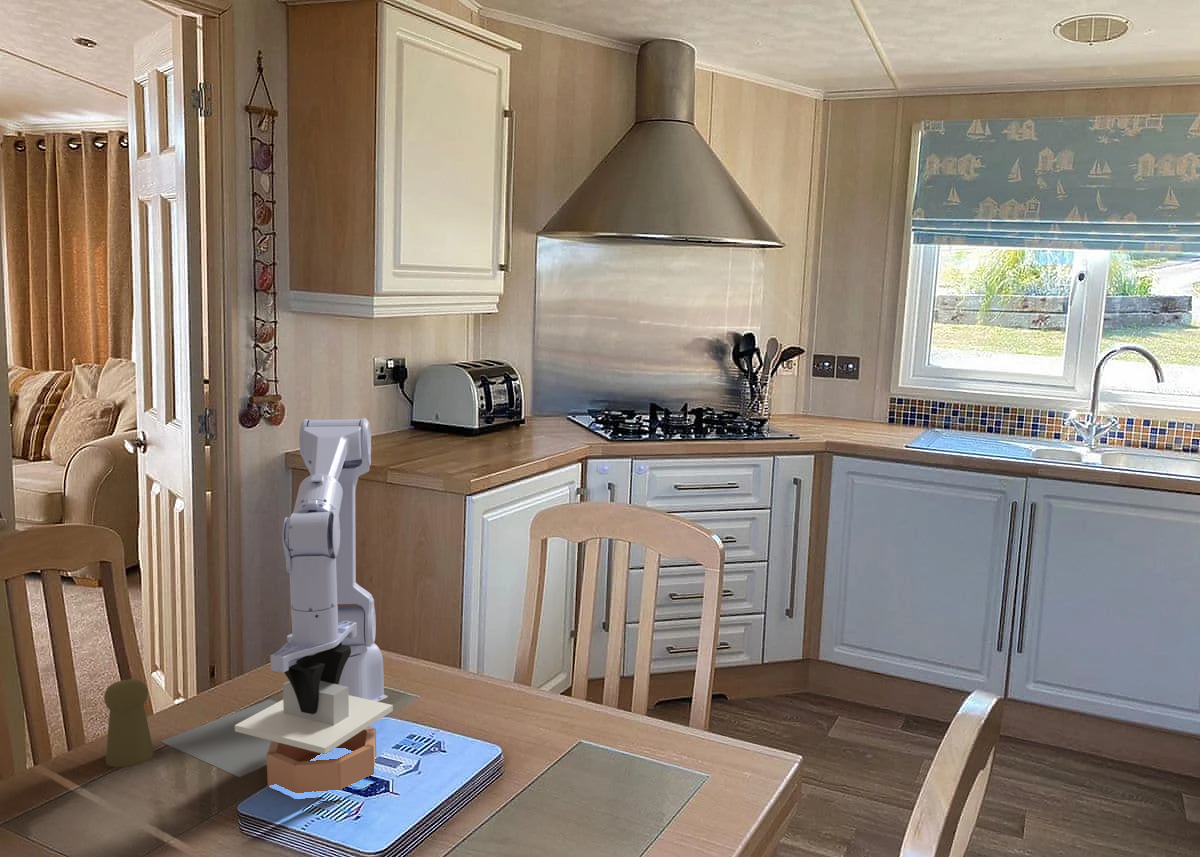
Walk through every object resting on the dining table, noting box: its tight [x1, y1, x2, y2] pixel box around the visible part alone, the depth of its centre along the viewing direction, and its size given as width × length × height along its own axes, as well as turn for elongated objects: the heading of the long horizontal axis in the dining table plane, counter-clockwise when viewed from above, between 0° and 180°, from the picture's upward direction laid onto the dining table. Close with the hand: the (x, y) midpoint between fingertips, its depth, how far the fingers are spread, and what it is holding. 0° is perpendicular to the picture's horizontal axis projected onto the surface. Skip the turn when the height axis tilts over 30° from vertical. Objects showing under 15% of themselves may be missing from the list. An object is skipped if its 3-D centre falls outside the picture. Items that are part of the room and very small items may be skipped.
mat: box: [160, 699, 278, 778], centre depth 141 cm, size 18×18×1 cm
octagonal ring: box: [266, 726, 377, 793], centre depth 129 cm, size 13×13×5 cm
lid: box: [235, 680, 394, 754], centre depth 129 cm, size 14×14×5 cm
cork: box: [103, 678, 155, 768], centre depth 133 cm, size 6×6×11 cm
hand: (318, 706), depth 129 cm, fingers closed on lid, 3 cm apart
